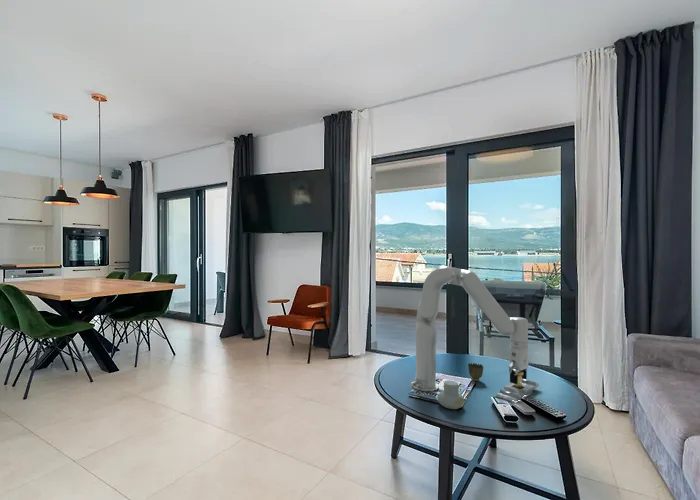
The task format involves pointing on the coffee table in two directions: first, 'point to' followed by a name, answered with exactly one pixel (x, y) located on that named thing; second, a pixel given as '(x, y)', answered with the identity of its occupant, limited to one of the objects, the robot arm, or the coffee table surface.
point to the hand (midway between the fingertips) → (518, 380)
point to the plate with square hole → (517, 390)
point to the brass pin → (519, 380)
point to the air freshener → (451, 396)
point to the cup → (475, 371)
